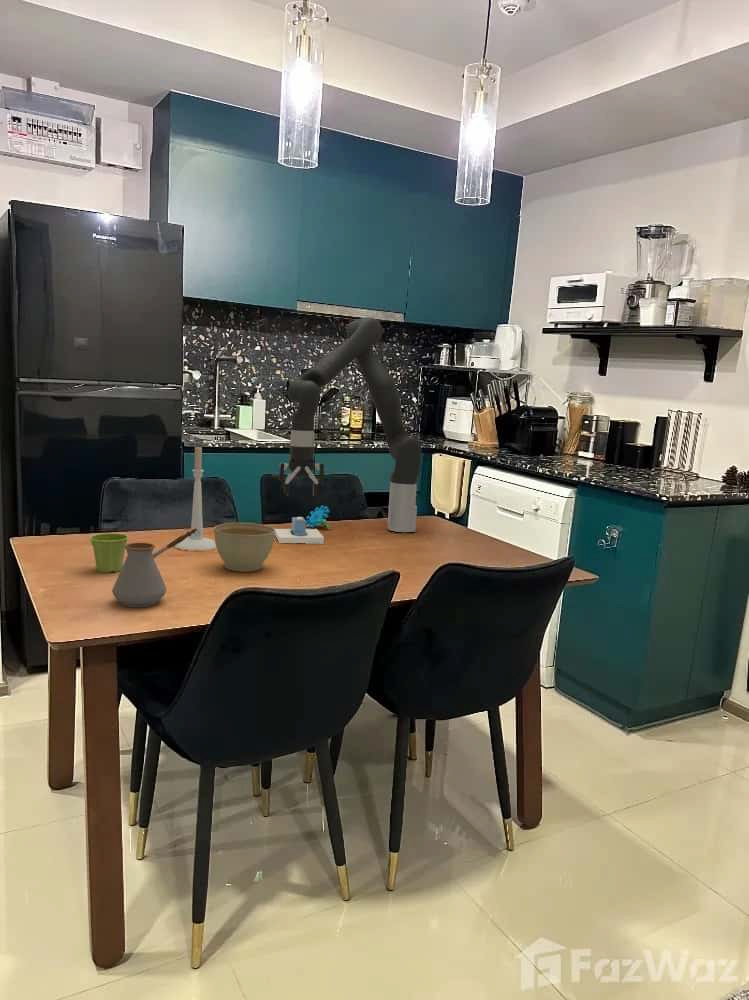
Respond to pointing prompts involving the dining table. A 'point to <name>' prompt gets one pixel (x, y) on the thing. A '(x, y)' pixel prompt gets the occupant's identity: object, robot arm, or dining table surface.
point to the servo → (298, 526)
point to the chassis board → (311, 536)
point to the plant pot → (109, 551)
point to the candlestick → (197, 512)
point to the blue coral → (318, 517)
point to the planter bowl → (243, 545)
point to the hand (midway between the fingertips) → (300, 495)
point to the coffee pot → (142, 575)
